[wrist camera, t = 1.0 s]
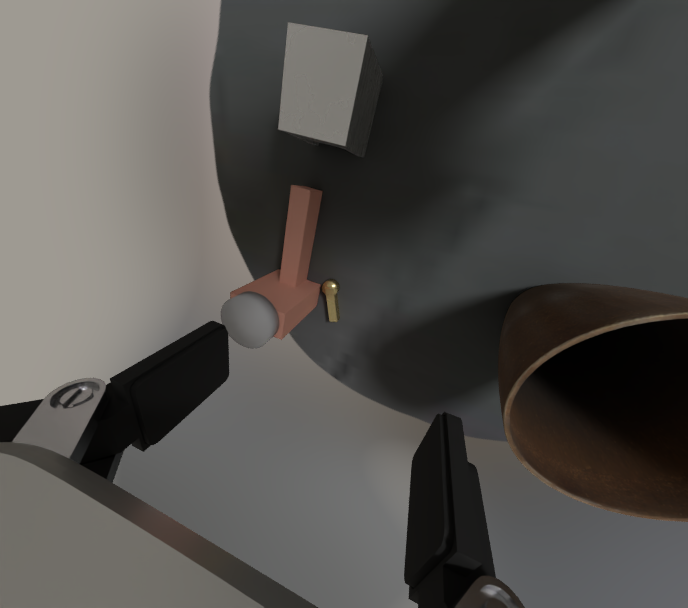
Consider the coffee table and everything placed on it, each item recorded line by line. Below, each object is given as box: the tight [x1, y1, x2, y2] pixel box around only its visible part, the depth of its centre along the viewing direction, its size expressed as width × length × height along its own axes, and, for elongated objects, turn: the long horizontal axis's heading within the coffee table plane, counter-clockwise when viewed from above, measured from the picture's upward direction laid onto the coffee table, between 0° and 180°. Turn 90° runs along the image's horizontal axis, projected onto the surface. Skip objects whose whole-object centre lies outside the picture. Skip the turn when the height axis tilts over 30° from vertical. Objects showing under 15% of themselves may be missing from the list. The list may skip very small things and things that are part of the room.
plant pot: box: [498, 283, 688, 522], centre depth 21 cm, size 15×15×16 cm
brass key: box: [322, 279, 340, 322], centre depth 35 cm, size 6×2×1 cm, turn 6°
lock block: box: [278, 23, 383, 158], centre depth 23 cm, size 7×7×7 cm
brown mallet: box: [221, 185, 323, 348], centre depth 29 cm, size 17×7×12 cm, turn 166°
